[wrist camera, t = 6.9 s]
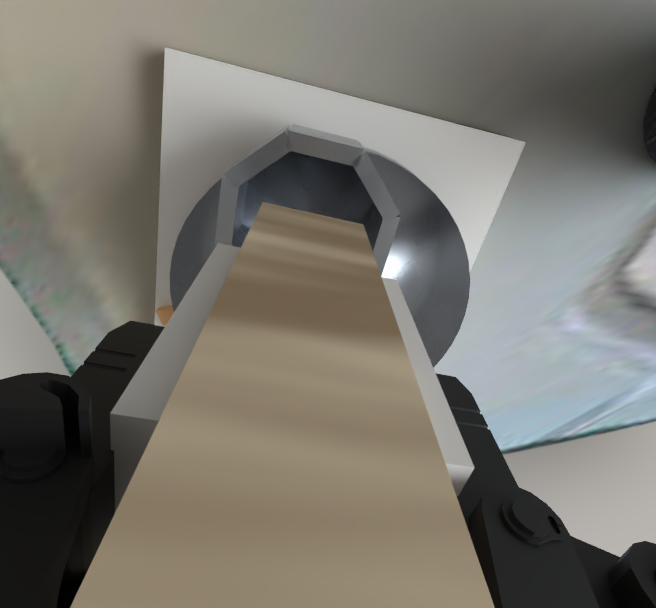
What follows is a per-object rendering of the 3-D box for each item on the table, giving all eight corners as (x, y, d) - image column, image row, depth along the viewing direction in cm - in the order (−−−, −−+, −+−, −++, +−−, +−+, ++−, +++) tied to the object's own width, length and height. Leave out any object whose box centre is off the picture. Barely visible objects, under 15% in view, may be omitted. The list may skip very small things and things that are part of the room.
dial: (192, 94, 19) (156, 97, 15) (508, 174, 21) (556, 196, 17) (173, 371, 26) (146, 426, 22) (407, 409, 28) (423, 466, 24)
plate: (178, 50, 20) (161, 46, 18) (509, 137, 23) (530, 143, 20) (163, 344, 29) (150, 366, 26) (407, 386, 31) (413, 410, 29)
